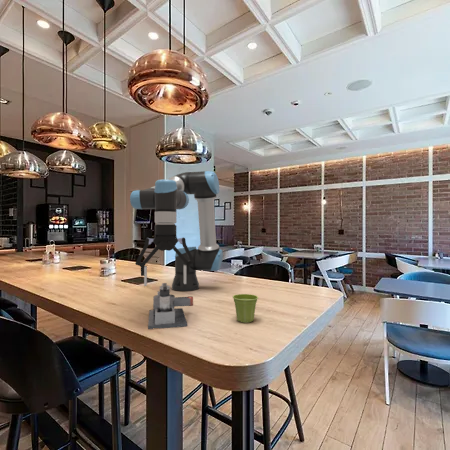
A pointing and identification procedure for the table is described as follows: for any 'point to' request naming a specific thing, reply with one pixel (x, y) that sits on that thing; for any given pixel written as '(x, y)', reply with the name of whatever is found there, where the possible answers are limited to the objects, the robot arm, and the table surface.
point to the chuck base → (167, 318)
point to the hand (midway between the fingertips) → (165, 284)
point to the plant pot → (245, 307)
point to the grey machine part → (173, 301)
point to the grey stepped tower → (164, 298)
